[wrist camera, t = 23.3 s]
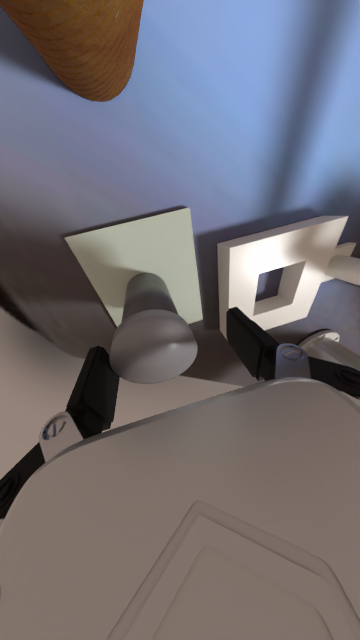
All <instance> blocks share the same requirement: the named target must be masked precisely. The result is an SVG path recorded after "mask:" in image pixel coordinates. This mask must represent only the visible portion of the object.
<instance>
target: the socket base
mask: <svg viewBox="0 0 360 640" xmlns="http://www.w3.org/2000/svg"><path fill="white" fill-rule="evenodd" d="M348 217H349V216H319V217H315V218H312V219H308V220H304V221H300V222H296V223H293V224H289V225H285V226H281V227H278V228H274V229H270V230H266V231H263V232H259V233H255V234H251V235H248V236H244V237H240V238H236V239H233V240H229V241H225V242H221V243H217V254H218V286H219V318H220V331H221V333H222V334H223V335H224V337H225V338H226V339H227V337H226V312H227V311H228V309H229V308H233V307H238V308H239V309H240V310H241V311H242V312H243V313H244V314H245V315H246V316H247V317H248V318H250V319H251V320H253V321H254V322H255V323H257V324H258V325H259V326H260V327H261V328H262V329H263V330H267V329H270V328H273V327H276V326H279V325H283V324H286V323H289V322H292V321H295V320H298V319H301V318H304V317H307V314H308V312H309V310H310V307H311V305H312V303H313V300H314V298H315V295H316V293H317V291H318V288H319V286H320V283H321V282H325V281H328V280H331V279H334V278H337V279H340V280H343V281H346V282H349V283H352V284H356V285H359V286H360V258H355V257H350V256H351V254H352V252H353V250H354V248H355V246H356V243H351V242H347V243H344V244H340V245H337V243H338V241H339V238H340V236H341V233H342V231H343V229H344V226H345V224H346V222H347V219H348ZM336 245H337V246H336ZM281 267H284V269H283V273H282V277H281V281H280V285H279V289H278V294H277V296H273V297H270V298H267V299H263V300H260V301H257V302H255V297H256V290H257V283H258V276H259V274H261V273H264V272H268V271H271V270H275V269H278V268H281ZM227 341H228V340H227Z"/></svg>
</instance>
